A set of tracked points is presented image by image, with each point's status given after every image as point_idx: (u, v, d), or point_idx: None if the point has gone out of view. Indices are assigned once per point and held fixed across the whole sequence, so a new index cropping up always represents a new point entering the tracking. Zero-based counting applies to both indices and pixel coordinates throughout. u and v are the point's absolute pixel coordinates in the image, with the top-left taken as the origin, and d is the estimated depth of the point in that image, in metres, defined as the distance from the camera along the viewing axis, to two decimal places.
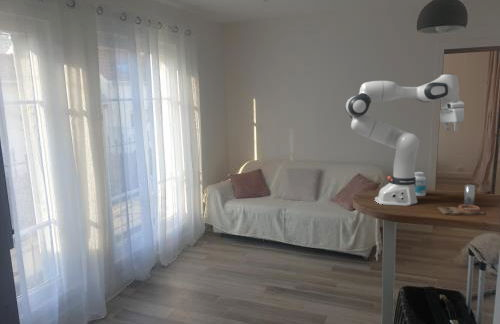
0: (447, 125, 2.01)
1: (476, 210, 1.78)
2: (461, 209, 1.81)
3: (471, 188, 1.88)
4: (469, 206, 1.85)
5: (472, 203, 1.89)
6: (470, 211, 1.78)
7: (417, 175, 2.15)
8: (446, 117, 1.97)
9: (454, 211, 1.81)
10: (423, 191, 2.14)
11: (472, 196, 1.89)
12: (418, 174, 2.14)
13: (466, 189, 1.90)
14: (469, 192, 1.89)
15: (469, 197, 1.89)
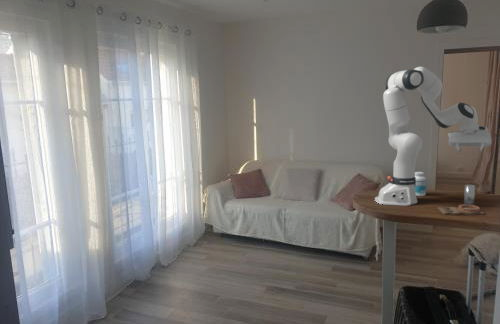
0: None
1: (476, 210, 1.78)
2: (461, 209, 1.81)
3: (471, 188, 1.88)
4: (469, 206, 1.85)
5: (472, 203, 1.89)
6: (470, 211, 1.78)
7: (417, 175, 2.15)
8: (465, 138, 2.01)
9: (454, 211, 1.81)
10: (423, 191, 2.14)
11: (472, 196, 1.89)
12: (418, 174, 2.14)
13: (466, 189, 1.90)
14: (469, 192, 1.89)
15: (469, 197, 1.89)
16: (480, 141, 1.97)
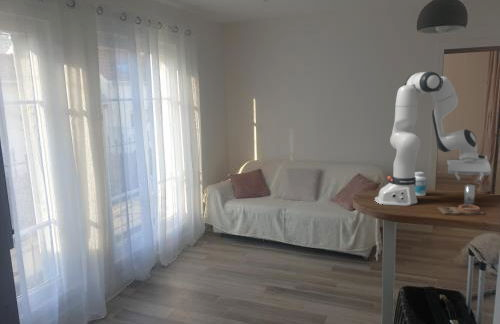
0: None
1: (476, 210, 1.78)
2: (461, 209, 1.81)
3: (471, 188, 1.88)
4: (469, 206, 1.85)
5: (472, 203, 1.89)
6: (470, 211, 1.78)
7: (417, 175, 2.15)
8: (465, 167, 1.99)
9: (454, 211, 1.81)
10: (423, 191, 2.14)
11: (472, 196, 1.89)
12: (418, 174, 2.14)
13: (466, 189, 1.90)
14: (469, 192, 1.89)
15: (469, 197, 1.89)
16: (479, 170, 1.95)
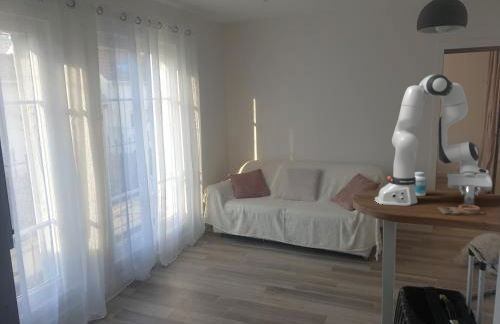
0: None
1: (476, 210, 1.78)
2: (461, 209, 1.81)
3: (471, 188, 1.88)
4: (469, 206, 1.85)
5: (472, 203, 1.89)
6: (470, 211, 1.78)
7: (417, 175, 2.15)
8: (465, 181, 1.93)
9: (454, 211, 1.81)
10: (423, 191, 2.14)
11: (472, 196, 1.89)
12: (418, 174, 2.14)
13: (466, 189, 1.90)
14: (469, 192, 1.89)
15: (469, 197, 1.89)
16: (480, 185, 1.89)
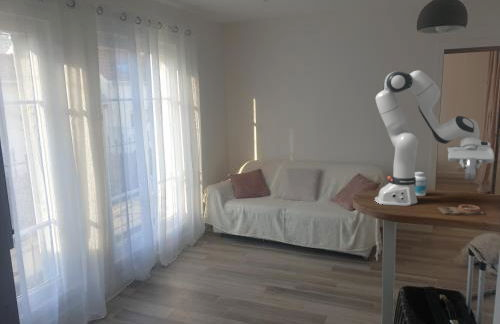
0: None
1: (476, 210, 1.78)
2: (461, 209, 1.81)
3: (472, 160, 1.81)
4: (469, 206, 1.85)
5: (473, 176, 1.82)
6: (470, 211, 1.78)
7: (417, 175, 2.15)
8: (466, 154, 1.87)
9: (454, 211, 1.81)
10: (423, 191, 2.14)
11: (473, 169, 1.82)
12: (418, 174, 2.14)
13: (467, 162, 1.83)
14: (470, 165, 1.82)
15: (470, 170, 1.82)
16: (482, 158, 1.83)
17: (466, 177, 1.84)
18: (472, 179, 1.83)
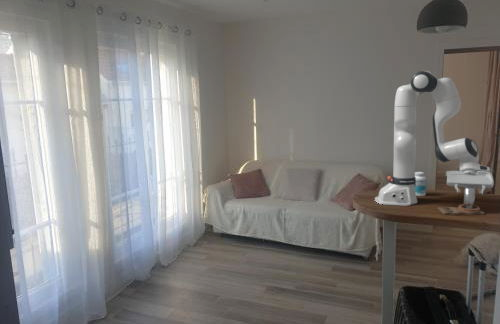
0: None
1: (476, 210, 1.78)
2: (461, 209, 1.81)
3: (471, 190, 1.79)
4: None
5: (472, 206, 1.80)
6: (470, 211, 1.78)
7: (417, 175, 2.15)
8: (465, 178, 1.84)
9: (454, 211, 1.81)
10: (423, 191, 2.14)
11: (472, 199, 1.79)
12: (418, 174, 2.14)
13: (466, 191, 1.80)
14: (469, 195, 1.79)
15: (469, 200, 1.80)
16: (481, 183, 1.80)
17: (465, 207, 1.82)
18: None
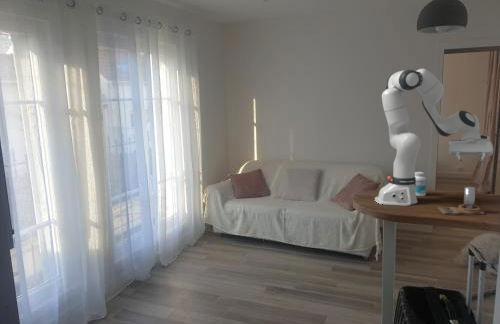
0: None
1: (476, 210, 1.78)
2: (461, 209, 1.81)
3: (471, 190, 1.79)
4: None
5: (472, 206, 1.80)
6: (470, 211, 1.78)
7: (417, 175, 2.15)
8: (466, 147, 1.96)
9: (454, 211, 1.81)
10: (423, 191, 2.14)
11: (472, 199, 1.79)
12: (418, 174, 2.14)
13: (466, 191, 1.80)
14: (469, 195, 1.79)
15: (469, 200, 1.80)
16: (481, 150, 1.92)
17: (465, 207, 1.82)
18: None
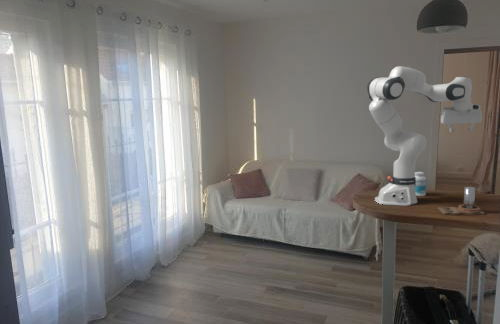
0: None
1: (476, 210, 1.78)
2: (461, 209, 1.81)
3: (471, 190, 1.79)
4: None
5: (472, 206, 1.80)
6: (470, 211, 1.78)
7: (417, 175, 2.15)
8: (458, 118, 2.02)
9: (454, 211, 1.81)
10: (423, 191, 2.14)
11: (472, 199, 1.79)
12: (418, 174, 2.14)
13: (466, 191, 1.80)
14: (469, 195, 1.79)
15: (469, 200, 1.80)
16: (472, 121, 2.02)
17: (465, 207, 1.82)
18: None
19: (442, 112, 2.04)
